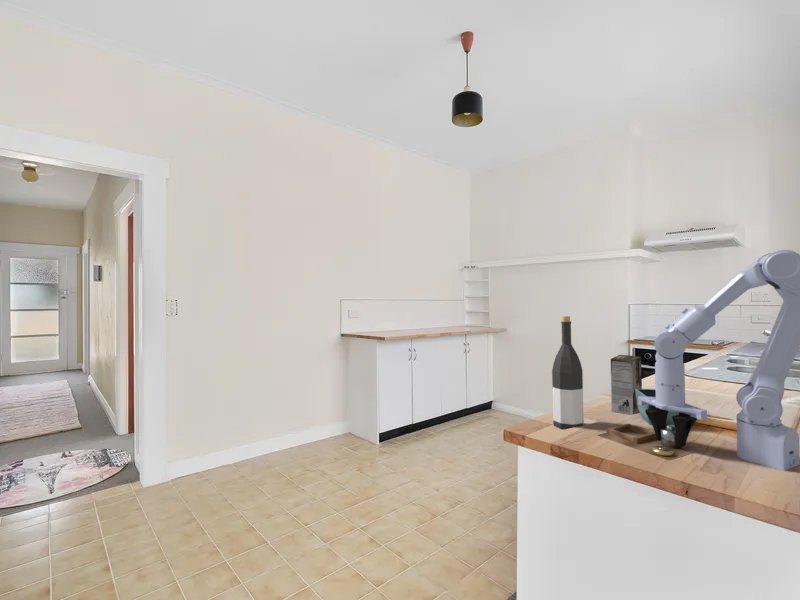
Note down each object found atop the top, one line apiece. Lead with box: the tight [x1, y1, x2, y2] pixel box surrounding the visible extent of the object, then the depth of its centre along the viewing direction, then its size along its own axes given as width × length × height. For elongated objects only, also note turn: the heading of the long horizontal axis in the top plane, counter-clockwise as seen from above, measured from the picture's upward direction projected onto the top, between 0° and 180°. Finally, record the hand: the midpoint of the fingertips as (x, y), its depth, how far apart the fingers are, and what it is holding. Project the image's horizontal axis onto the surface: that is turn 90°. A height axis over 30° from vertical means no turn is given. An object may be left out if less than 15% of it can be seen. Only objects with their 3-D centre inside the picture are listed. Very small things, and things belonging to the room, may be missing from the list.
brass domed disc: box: [652, 446, 673, 457], centre depth 93 cm, size 4×4×1 cm
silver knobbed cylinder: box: [661, 424, 681, 449], centre depth 97 cm, size 4×4×5 cm
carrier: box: [597, 423, 704, 461], centre depth 100 cm, size 18×12×2 cm, turn 25°
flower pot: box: [635, 388, 679, 426], centre depth 114 cm, size 9×9×9 cm
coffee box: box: [610, 354, 643, 416], centre depth 129 cm, size 9×6×16 cm
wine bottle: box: [551, 315, 585, 430], centre depth 116 cm, size 8×8×30 cm
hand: (670, 442), depth 97 cm, fingers closed on silver knobbed cylinder, 4 cm apart
